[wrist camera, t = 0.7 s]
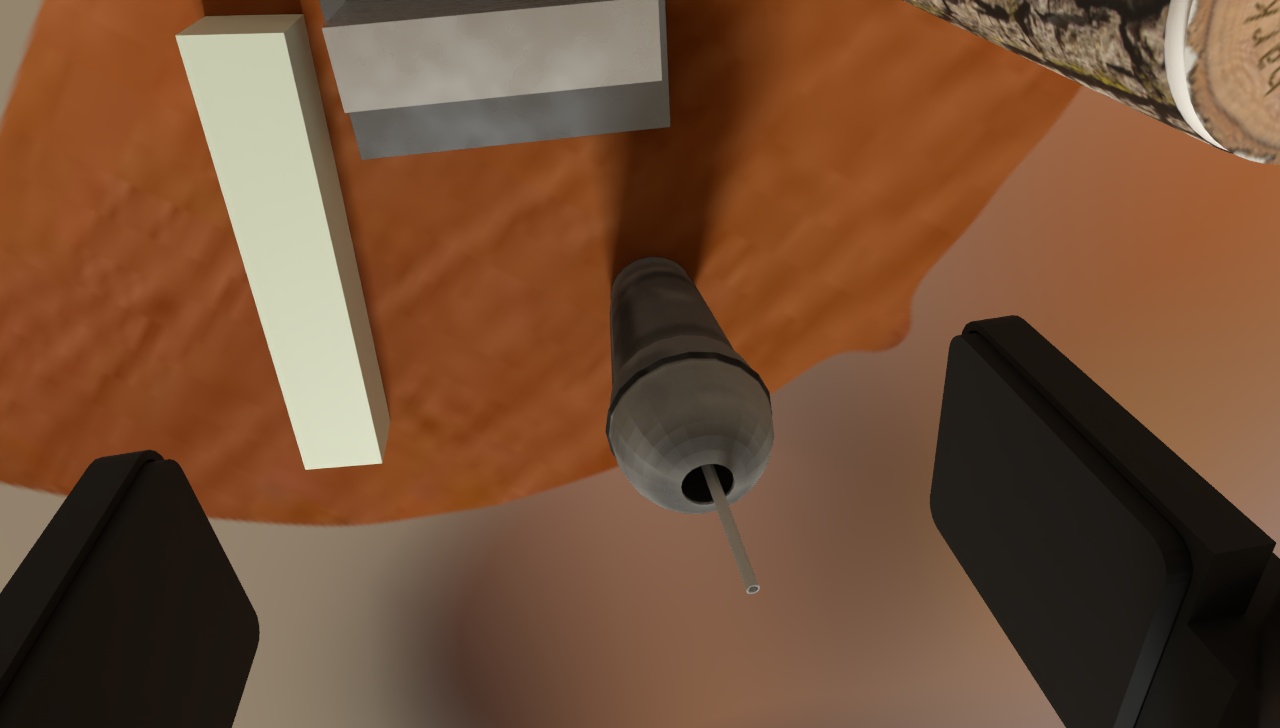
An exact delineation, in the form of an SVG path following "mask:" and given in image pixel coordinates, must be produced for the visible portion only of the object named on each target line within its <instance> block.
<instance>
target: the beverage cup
mask: <svg viewBox="0 0 1280 728" xmlns="http://www.w3.org/2000/svg"><path fill="white" fill-rule="evenodd" d="M610 335H611V362H612V394H611V401H610V408H609V409H608V415H607V424H606V435H607V438H608V442H609V445H610V449H611V452H612V453H613V455H614V456H615V458H616V459H617V462H618V465H619V467H620V469H621V471H622V472H623V474H624V475H625V476H626V477H627V479H628V480H629V481H630V482H631V484H632V485H633V486H634V487H635V488H636V490H637V491H638V492H639V493H640V494H641V495H643V496H644V497H646V498H647V499H649V500H651V501H652V502H654V503H656V504H657V505H659V506H661V507H663V508H666V509H669V510H673V511H677V512H681V513H686V514H689V513H690V514H691V513H707V512H711V511H715V510H717V511H718V514H719V517H720V520H721V522H722V525H723V528H724V530H725V533H726V536H727V539H728V541H729V544H730V547H731V550H732V552H733V555H734V558H735V561H736V563H737V566H738V569H739V572H740V574H741V577H742V580H743V583H744V585H745V588H746V591H747V593H750V594H753V593H756V592H757V591H758V590H759V589H760V587H759V584H758V582H757V579H756V577H755V574H754V571H753V569H752V566H751V563H750V561H749V558H748V555H747V553H746V550H745V547H744V545H743V542H742V539H741V537H740V534H739V532H738V529H737V526H736V524H735V521H734V518H733V515H732V513H731V510H730V508H729V505H730V504H732V503H734V502H736V501H738V500H739V499H740V498H742V497H743V496H744V495H745V494H746V493H747V492H749V491H750V490H751V489H752V488H753V487H754V485H755V484H756V482H757V481H758V479H759V478H760V476H761V475H762V474H763V472H764V471H765V468H766V466H767V464H768V461H769V457H770V453H771V449H772V446H773V440H774V430H773V421H772V410H771V402H770V394H769V391H768V389H767V388H766V386H765V384H764V383H763V381H762V379H761V378H760V376H759V374H758V373H756V372H755V371H754V370H752V369H751V368H750V366H749V365H748V364H747V363H746V361H745V360H744V359H743V358H742V357H741V356H740V355H739V354H738V353H737V352H735V351H734V349H733V348H732V346H731V344H730V343H729V341H728V339H727V338H726V336H725V334H724V333H723V331H722V329H721V328H720V326H719V324H718V323H717V321H716V319H715V318H714V316H713V314H712V312H711V311H710V309H709V307H708V306H707V304H706V302H705V301H704V299H703V297H702V296H701V294H700V292H699V291H698V289H697V287H696V286H695V284H694V282H693V281H692V280H691V279H690V278H689V276H688V275H687V273H686V272H685V270H684V269H683V268H682V267H681V266H680V265H678V264H677V263H676V262H674V261H671V260H669V259H666V258H663V257H647V258H643V259H639V260H636V261H634V262H633V263H631V264H629V265H627V266H626V267H625V268H624V269H623V270H622V271H621V272H620V273H619V274H618V275H617V277H616V279H615V281H614V283H613V285H612V288H611V305H610Z"/></svg>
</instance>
